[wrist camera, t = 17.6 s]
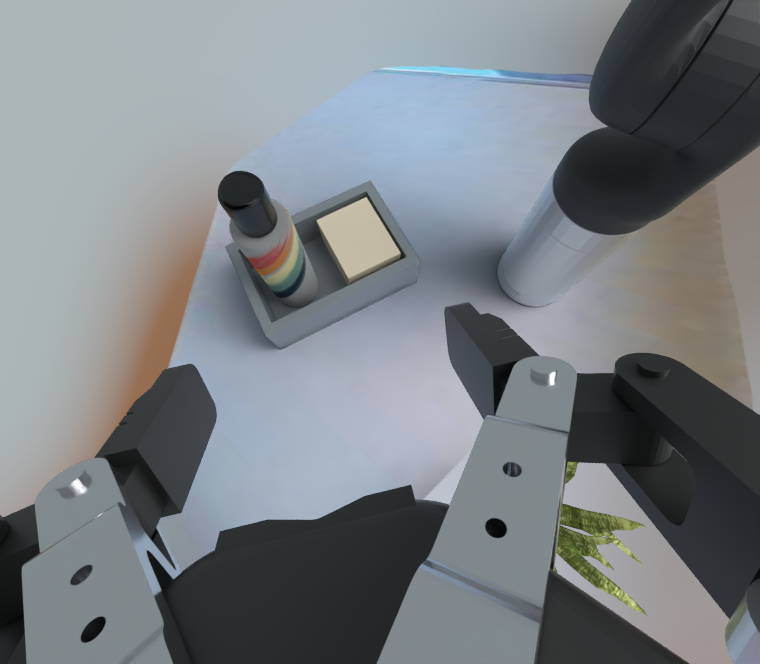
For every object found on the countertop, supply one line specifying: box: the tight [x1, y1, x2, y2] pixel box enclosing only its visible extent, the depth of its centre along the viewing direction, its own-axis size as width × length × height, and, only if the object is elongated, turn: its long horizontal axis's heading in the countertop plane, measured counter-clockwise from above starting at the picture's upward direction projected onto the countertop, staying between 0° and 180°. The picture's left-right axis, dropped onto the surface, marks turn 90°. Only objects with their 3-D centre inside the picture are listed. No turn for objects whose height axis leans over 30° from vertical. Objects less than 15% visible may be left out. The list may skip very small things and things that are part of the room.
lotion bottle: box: [218, 171, 318, 307], centre depth 38 cm, size 6×6×20 cm
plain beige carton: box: [316, 197, 401, 286], centre depth 47 cm, size 7×9×5 cm
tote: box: [225, 181, 421, 349], centre depth 47 cm, size 20×13×6 cm, turn 118°
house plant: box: [554, 462, 646, 614], centre depth 33 cm, size 14×14×16 cm
